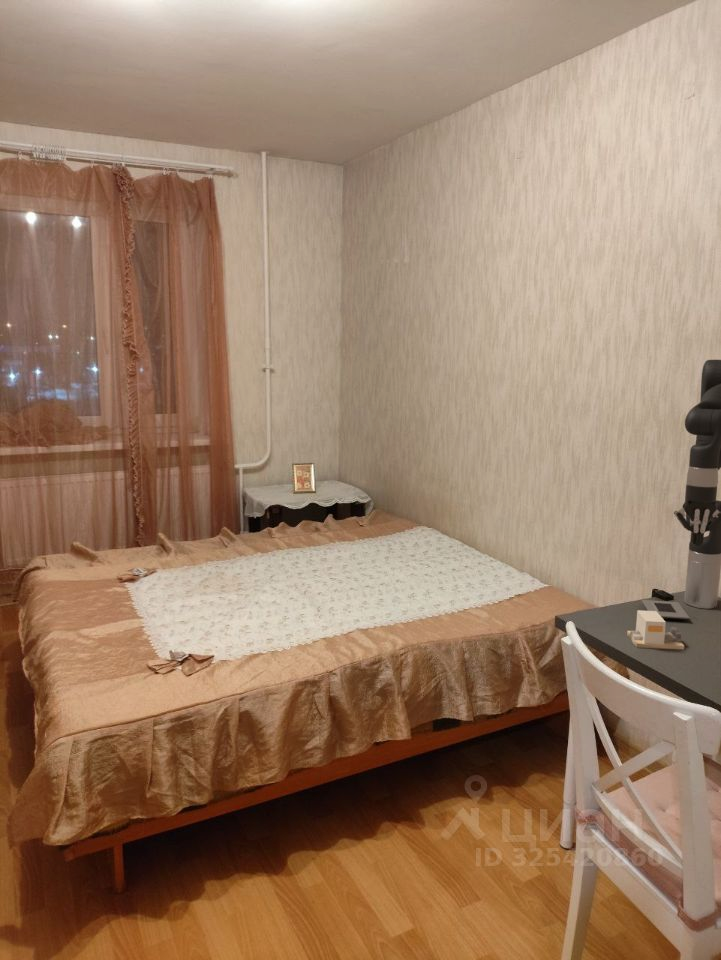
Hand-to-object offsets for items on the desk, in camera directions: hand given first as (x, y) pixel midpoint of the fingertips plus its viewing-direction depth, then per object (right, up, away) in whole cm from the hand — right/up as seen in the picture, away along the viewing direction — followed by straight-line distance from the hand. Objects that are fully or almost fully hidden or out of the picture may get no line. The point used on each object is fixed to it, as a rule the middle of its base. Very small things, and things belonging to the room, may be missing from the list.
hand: (696, 545), depth 185 cm
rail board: (-12, -26, -2) cm, 29 cm away
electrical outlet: (-1, -23, +18) cm, 29 cm away
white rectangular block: (-14, -25, -2) cm, 28 cm away
